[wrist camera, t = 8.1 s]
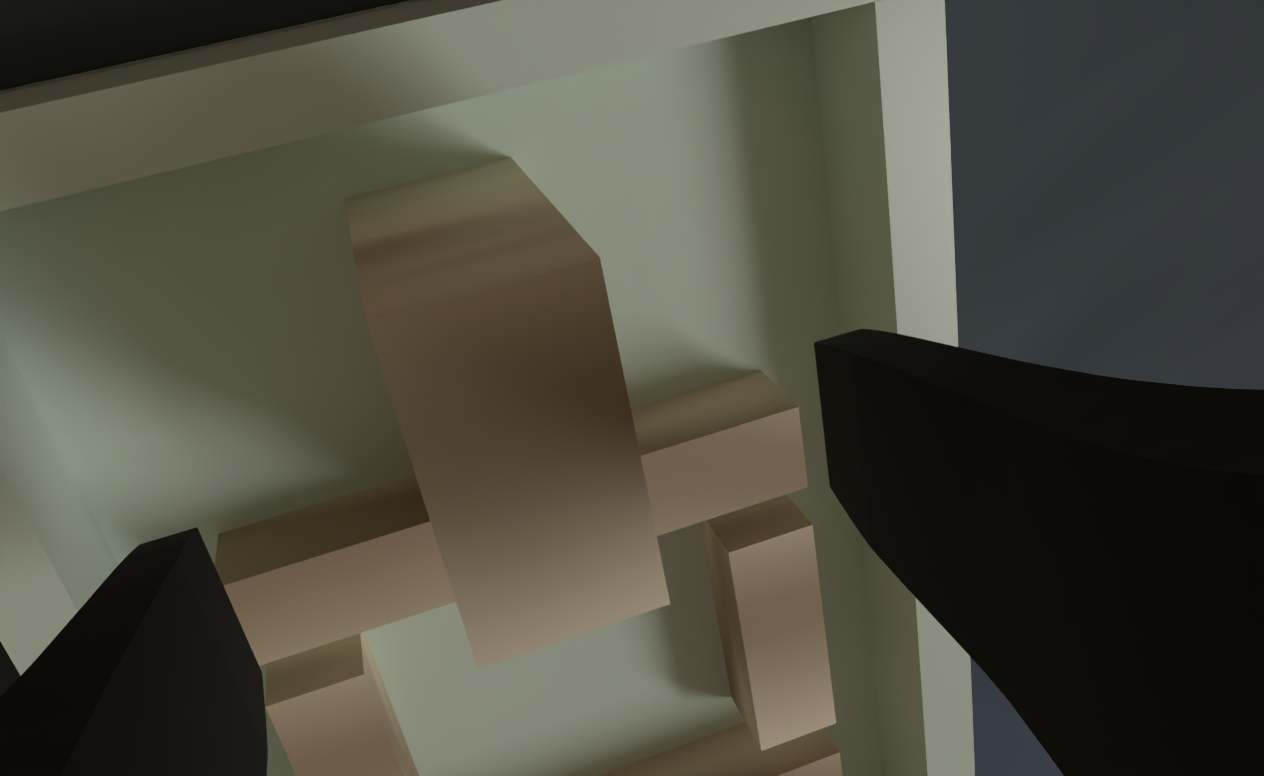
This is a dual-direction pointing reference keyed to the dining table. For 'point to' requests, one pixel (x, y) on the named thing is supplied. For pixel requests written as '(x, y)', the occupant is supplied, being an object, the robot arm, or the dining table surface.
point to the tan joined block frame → (531, 495)
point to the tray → (348, 364)
